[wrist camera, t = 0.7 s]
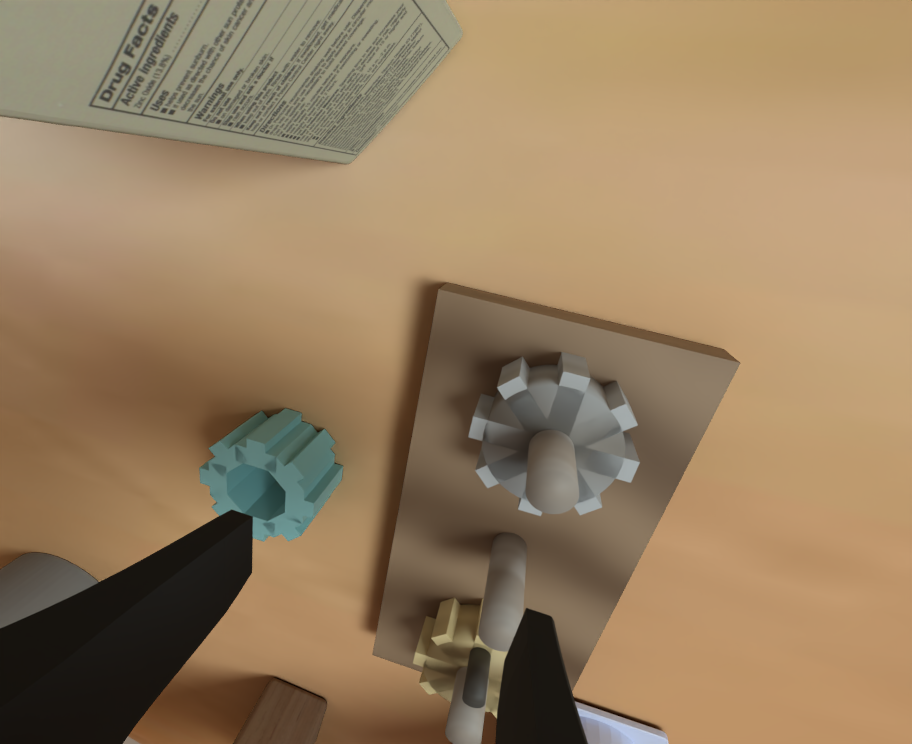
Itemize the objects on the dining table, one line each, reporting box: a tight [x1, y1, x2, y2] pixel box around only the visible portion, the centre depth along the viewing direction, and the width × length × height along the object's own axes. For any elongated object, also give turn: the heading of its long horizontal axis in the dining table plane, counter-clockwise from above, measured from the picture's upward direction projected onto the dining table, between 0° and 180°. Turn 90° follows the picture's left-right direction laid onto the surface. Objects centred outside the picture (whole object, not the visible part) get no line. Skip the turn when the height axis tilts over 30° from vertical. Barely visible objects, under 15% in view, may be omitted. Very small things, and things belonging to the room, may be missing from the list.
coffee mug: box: [0, 553, 99, 628], centre depth 28 cm, size 13×10×10 cm
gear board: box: [373, 283, 740, 744], centre depth 18 cm, size 22×11×6 cm, turn 169°
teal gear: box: [199, 408, 343, 541], centre depth 21 cm, size 6×6×3 cm
